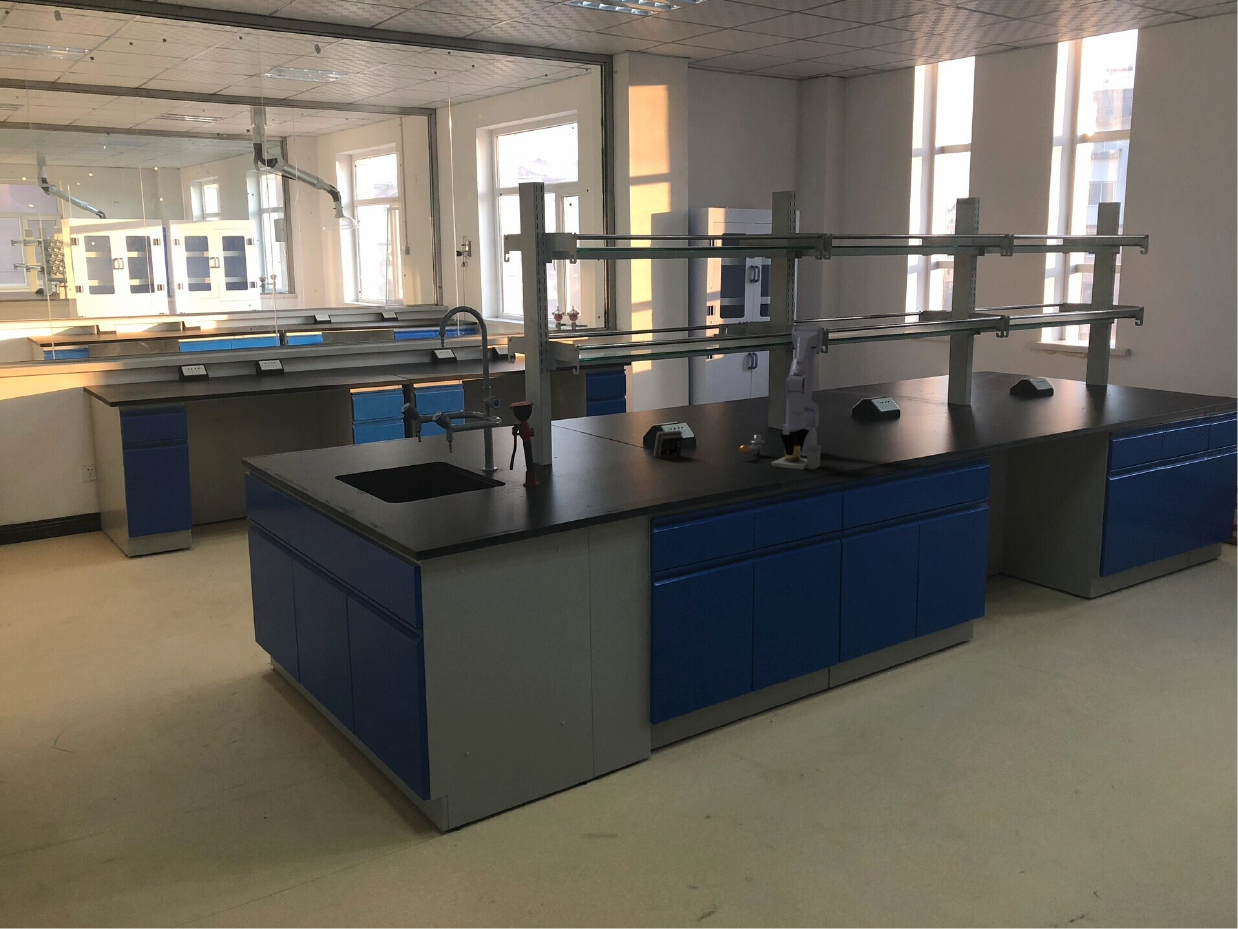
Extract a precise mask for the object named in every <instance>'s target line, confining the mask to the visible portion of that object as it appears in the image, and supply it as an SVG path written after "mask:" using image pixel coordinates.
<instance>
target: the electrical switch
mask: <svg viewBox="0 0 1238 929" xmlns="http://www.w3.org/2000/svg"><path fill="white" fill-rule="evenodd" d="M682 434H683V432H682V431H681V430H680V429H678V430H669V431H657V433H656V436H655V441H654V442H655V444H654V450H653V456H654V458H659V459H670V458H672V459H673V458H680V457H681V453H682V446H683V441H684V436H683V435H682Z"/></svg>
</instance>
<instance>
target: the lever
mask: <svg viewBox="0 0 1238 929" xmlns="http://www.w3.org/2000/svg"><path fill="white" fill-rule="evenodd" d="M756 448H757V445H756V444H752V443H751V444H749V445H747V444H743V445H741V446H740V447H739V448H738V453H739V454H740V455H741V456H748V454H749V453H750V451H754V449H756Z"/></svg>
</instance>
